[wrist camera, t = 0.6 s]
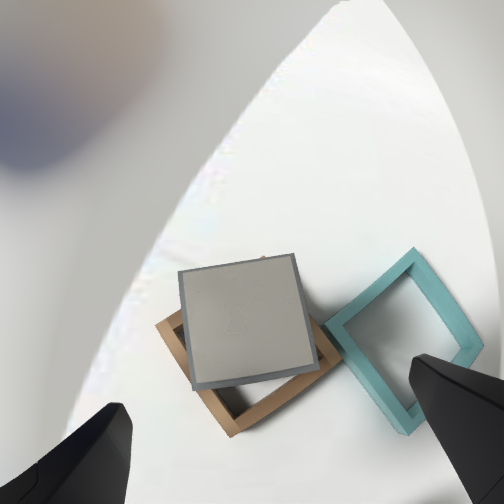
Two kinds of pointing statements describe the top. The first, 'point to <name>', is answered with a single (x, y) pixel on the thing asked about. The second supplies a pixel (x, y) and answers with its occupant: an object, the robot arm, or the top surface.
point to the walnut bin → (238, 423)
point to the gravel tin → (246, 322)
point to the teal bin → (361, 364)
